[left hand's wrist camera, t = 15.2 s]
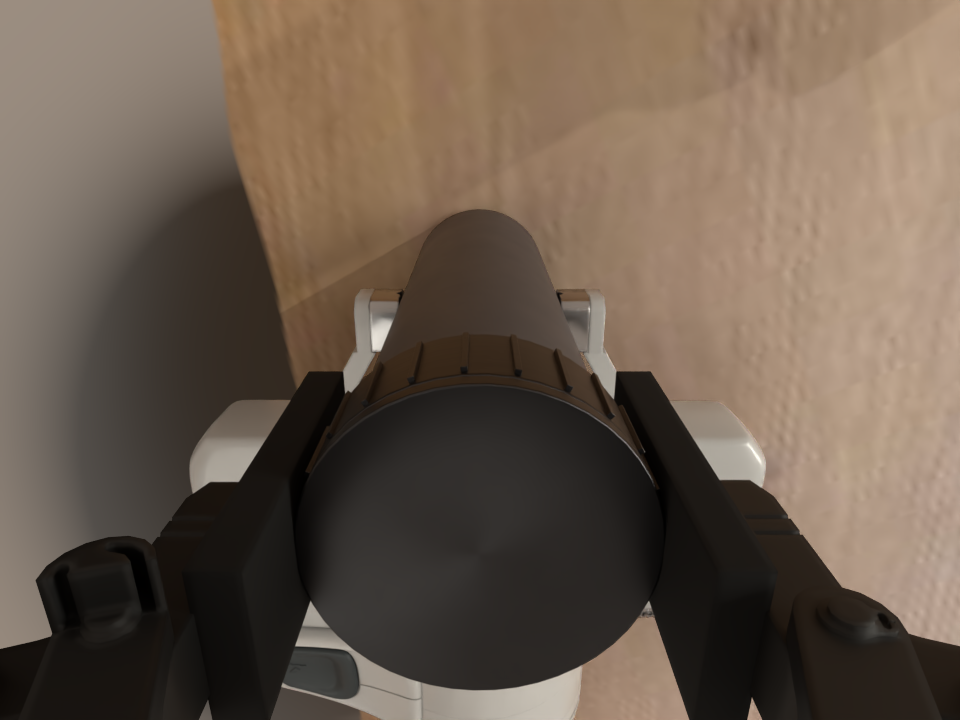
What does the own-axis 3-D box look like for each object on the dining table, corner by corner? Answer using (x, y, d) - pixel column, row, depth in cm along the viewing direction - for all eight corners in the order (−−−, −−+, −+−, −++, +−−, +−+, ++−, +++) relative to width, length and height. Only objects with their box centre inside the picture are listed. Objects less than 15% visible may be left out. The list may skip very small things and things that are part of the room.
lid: (263, 393, 12) (218, 455, 10) (586, 280, 11) (611, 321, 9) (395, 636, 14) (380, 729, 12) (673, 555, 13) (709, 640, 11)
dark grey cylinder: (400, 231, 27) (267, 444, 10) (522, 192, 27) (597, 349, 10) (440, 345, 29) (385, 685, 12) (555, 311, 29) (668, 618, 12)
